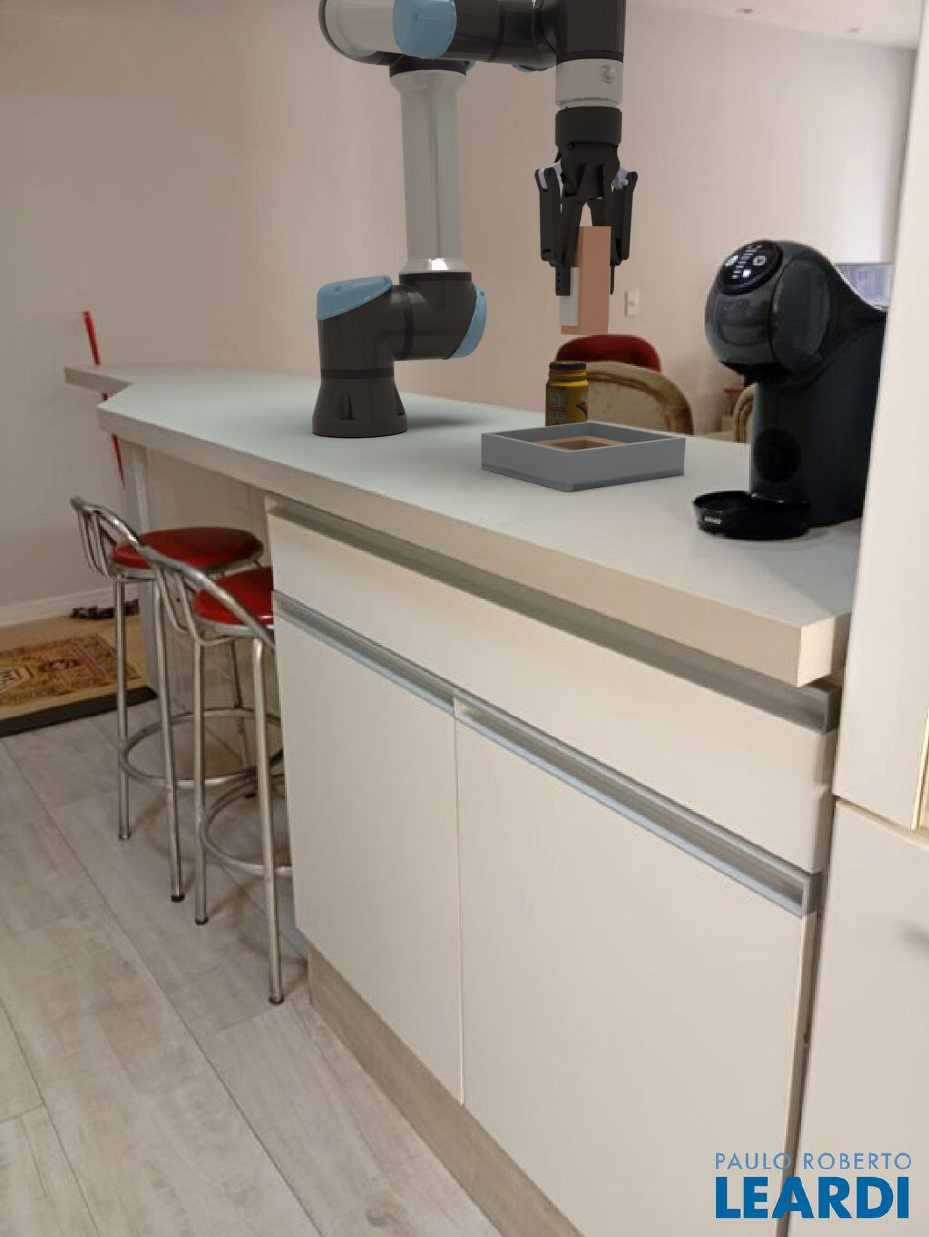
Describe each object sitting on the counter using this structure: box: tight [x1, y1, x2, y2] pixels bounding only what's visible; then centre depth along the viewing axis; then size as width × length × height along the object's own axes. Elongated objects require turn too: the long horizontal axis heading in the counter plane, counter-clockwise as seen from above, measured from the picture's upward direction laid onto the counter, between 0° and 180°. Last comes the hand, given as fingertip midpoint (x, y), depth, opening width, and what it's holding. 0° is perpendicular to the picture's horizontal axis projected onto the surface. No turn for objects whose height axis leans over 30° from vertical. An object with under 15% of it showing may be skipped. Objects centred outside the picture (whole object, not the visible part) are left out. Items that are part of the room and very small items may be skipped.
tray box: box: [480, 420, 687, 493], centre depth 126 cm, size 18×18×4 cm
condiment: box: [544, 360, 590, 426], centre depth 142 cm, size 7×8×12 cm
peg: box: [560, 225, 611, 336], centre depth 119 cm, size 4×4×12 cm
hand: (584, 324), depth 121 cm, fingers closed on peg, 4 cm apart
